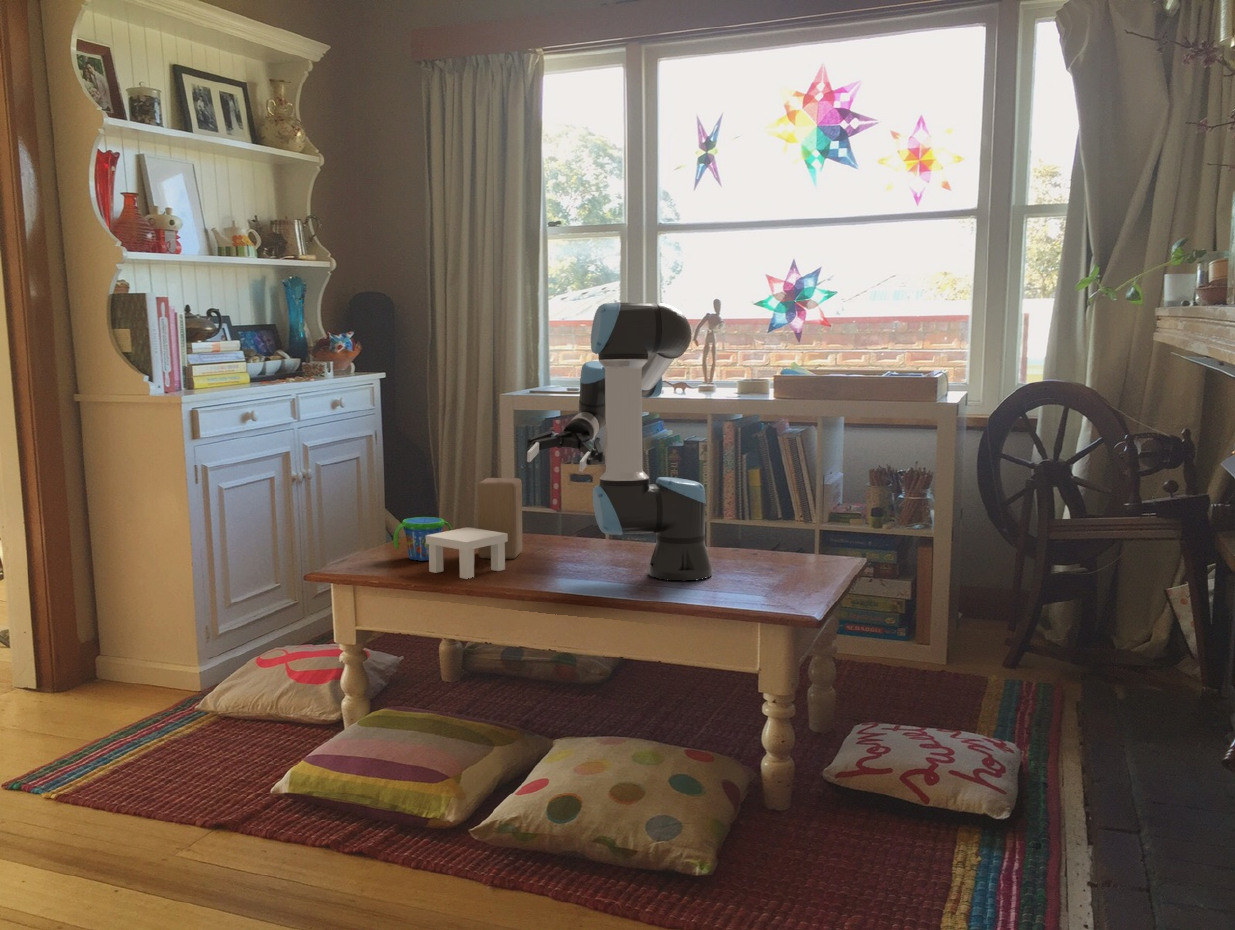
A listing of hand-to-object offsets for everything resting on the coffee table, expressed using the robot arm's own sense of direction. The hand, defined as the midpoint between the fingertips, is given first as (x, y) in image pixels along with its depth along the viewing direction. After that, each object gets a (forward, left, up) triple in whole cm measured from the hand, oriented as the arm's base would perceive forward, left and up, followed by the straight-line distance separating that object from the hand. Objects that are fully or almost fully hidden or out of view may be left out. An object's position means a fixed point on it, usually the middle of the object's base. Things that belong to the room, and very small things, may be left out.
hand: (554, 461), depth 252 cm
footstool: (+14, +17, -26) cm, 34 cm away
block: (+20, -1, -27) cm, 33 cm away
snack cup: (+33, +14, -27) cm, 45 cm away
